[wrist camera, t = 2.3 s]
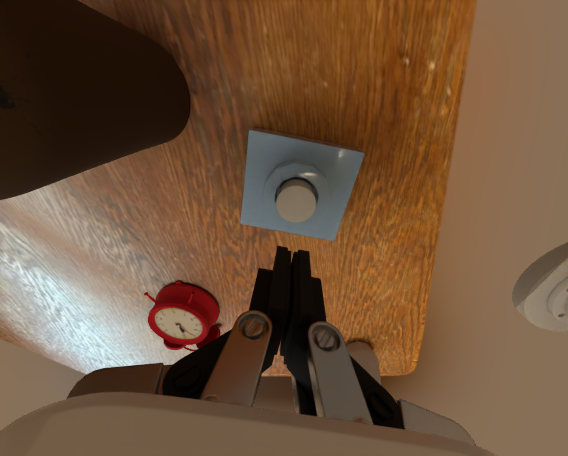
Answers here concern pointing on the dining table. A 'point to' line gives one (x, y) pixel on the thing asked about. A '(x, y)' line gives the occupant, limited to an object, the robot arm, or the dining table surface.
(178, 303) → the alarm clock
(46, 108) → the olive oil
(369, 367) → the salt shaker
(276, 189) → the square base with collar
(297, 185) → the round push button
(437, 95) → the dining table surface
